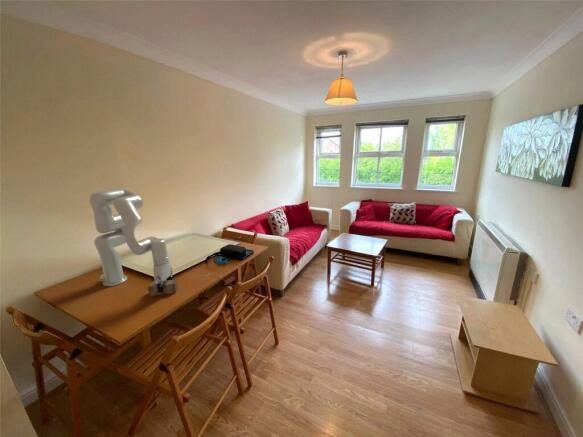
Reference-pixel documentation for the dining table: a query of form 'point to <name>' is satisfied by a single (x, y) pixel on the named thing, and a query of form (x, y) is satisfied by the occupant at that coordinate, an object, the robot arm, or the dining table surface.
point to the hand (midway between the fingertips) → (165, 287)
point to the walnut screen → (168, 288)
